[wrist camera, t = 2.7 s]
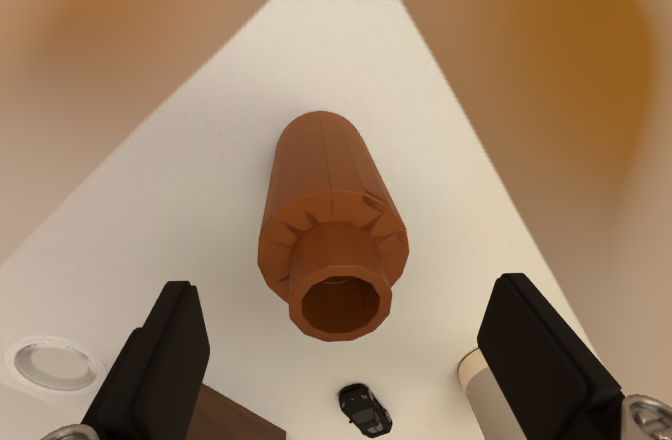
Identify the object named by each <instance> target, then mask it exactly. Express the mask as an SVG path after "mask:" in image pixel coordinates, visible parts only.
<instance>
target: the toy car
mask: <svg viewBox="0 0 672 440" xmlns="http://www.w3.org/2000/svg"><path fill="white" fill-rule="evenodd" d="M339 404H340V408H341V410H342V412H343V413H344V414H345V415H346V416H347V417H348V418H349V419H350V421H349V423H354V424H355V425H356V426H357V427H358V428H359V429H360V431H361V433H362V434H363V435H366V436H367V437H369V438H375V437H378V436H381V435H384V434H387V433H389V432H390V430H391V428H392V424H393V423H392V420H391V418H390V415H389V413H388V412H387V410H384V409H383V407H382V406H381V405H380V404H379V402H378V401H377V400H376V398H375V397H374V395H373V394H372V393H371V391H370V389H369V388H368V387H366V386H363V385H356V386H352V387H349V388H346V389H344V390H343V391H341V392H340V394H339Z"/></svg>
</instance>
